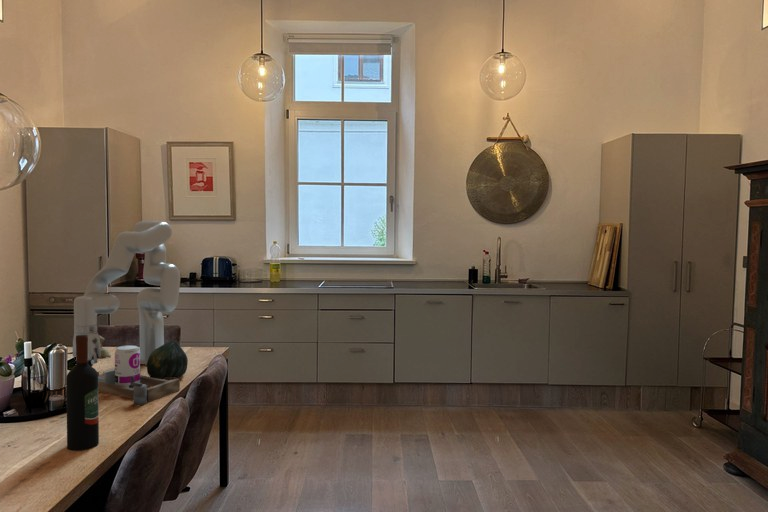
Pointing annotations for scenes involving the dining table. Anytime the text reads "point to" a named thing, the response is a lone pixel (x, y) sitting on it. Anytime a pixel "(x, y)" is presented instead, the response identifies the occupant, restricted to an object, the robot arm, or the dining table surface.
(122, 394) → the bay
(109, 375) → the follower
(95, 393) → the wine bottle
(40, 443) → the dining table surface
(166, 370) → the squash
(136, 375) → the supplement can
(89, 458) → the dining table surface
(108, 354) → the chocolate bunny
